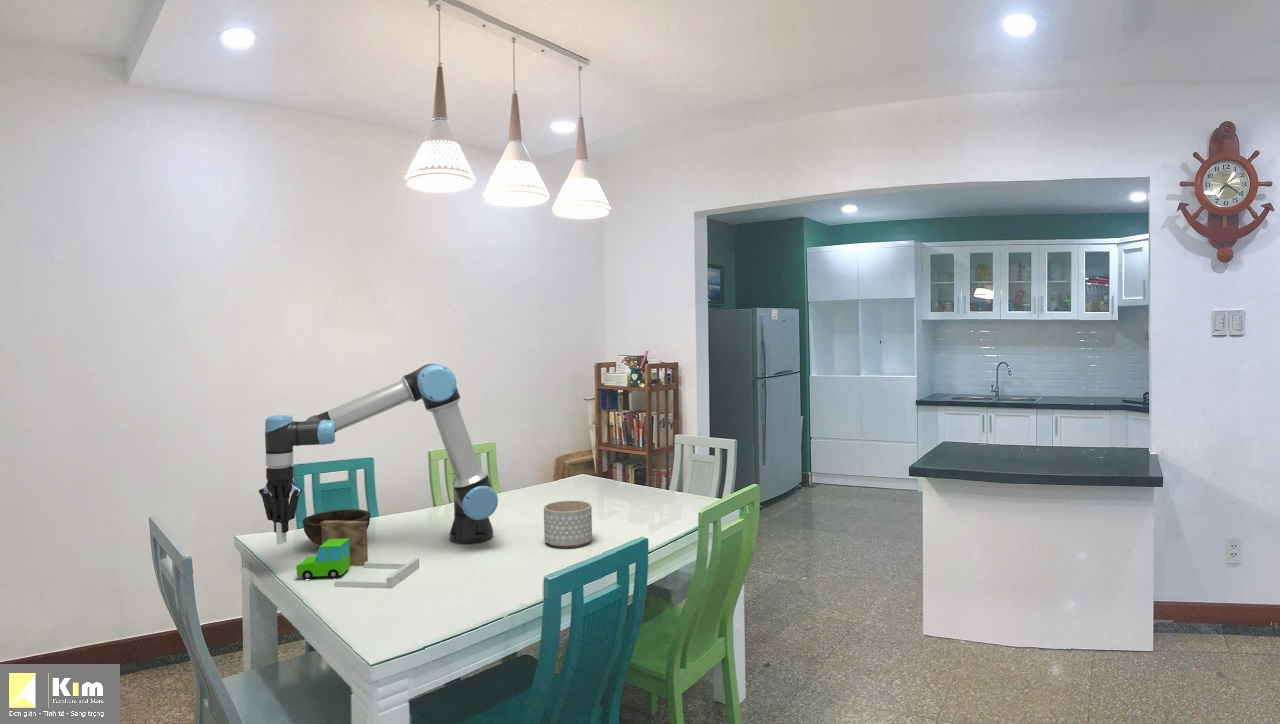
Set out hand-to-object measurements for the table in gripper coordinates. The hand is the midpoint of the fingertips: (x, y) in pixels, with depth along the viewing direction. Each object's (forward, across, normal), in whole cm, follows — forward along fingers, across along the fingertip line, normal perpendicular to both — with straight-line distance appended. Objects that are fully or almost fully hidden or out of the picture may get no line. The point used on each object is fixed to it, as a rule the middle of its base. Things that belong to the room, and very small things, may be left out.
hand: (281, 542), depth 218 cm
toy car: (+10, -13, 0) cm, 17 cm away
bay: (+9, -30, 0) cm, 32 cm away
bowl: (+10, 0, -30) cm, 32 cm away
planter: (+9, -80, -39) cm, 90 cm away
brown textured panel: (+10, -14, -11) cm, 20 cm away
